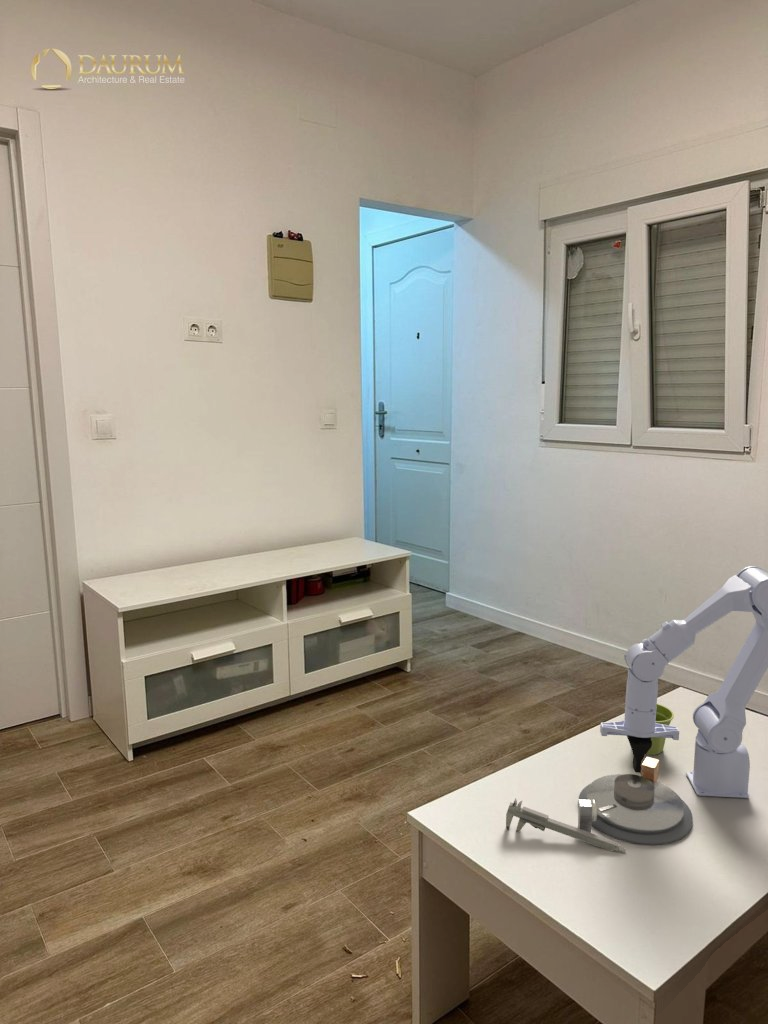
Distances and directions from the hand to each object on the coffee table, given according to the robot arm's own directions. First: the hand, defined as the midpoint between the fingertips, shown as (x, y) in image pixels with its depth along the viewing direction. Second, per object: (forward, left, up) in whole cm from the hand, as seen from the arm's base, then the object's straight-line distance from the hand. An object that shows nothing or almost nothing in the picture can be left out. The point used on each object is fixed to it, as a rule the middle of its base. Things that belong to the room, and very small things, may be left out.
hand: (636, 769), depth 144 cm
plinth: (+2, +10, -3) cm, 10 cm away
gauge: (+12, +17, -3) cm, 21 cm away
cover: (+3, +10, 0) cm, 10 cm away
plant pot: (-6, -14, -3) cm, 16 cm away
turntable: (+1, +9, -2) cm, 9 cm away
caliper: (+16, +19, -3) cm, 26 cm away
